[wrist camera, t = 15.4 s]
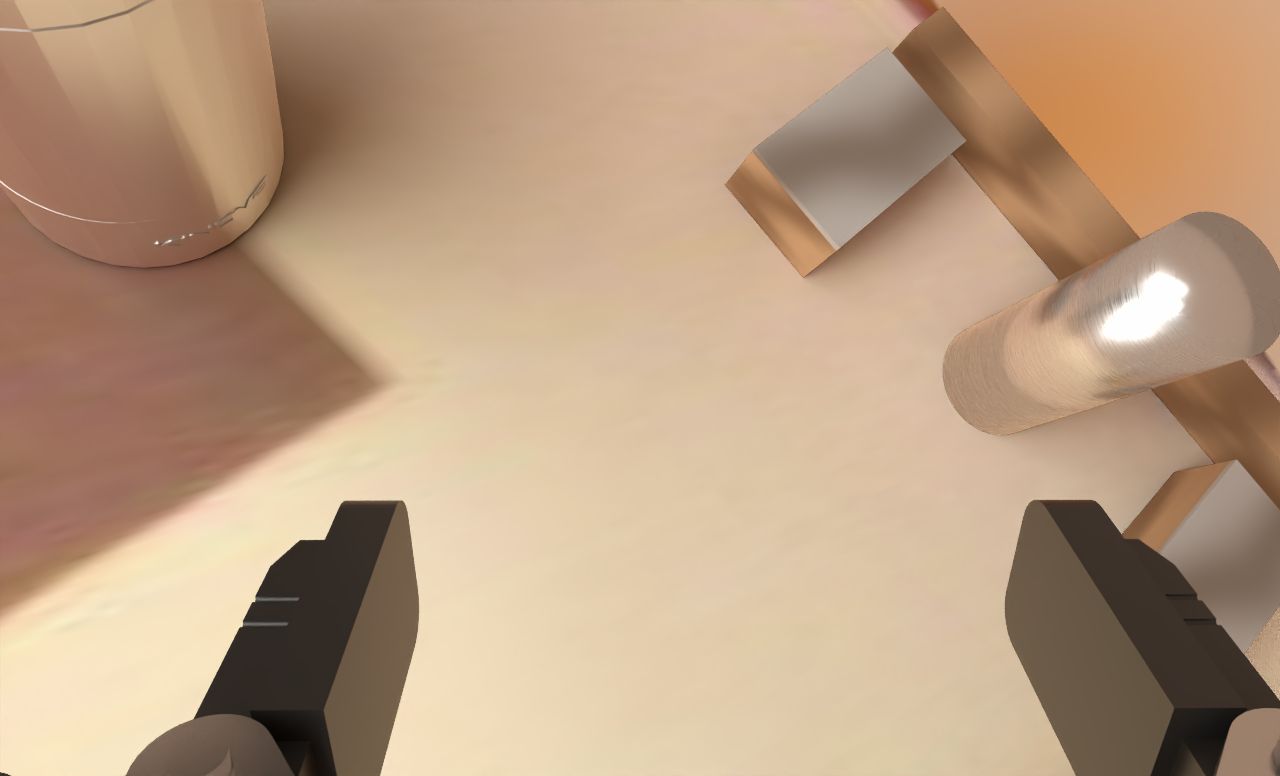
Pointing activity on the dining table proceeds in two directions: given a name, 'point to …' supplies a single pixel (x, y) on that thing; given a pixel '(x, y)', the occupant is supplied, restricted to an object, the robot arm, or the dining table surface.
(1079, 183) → the rail with metal-top blocks
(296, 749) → the robot arm
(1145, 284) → the link pin
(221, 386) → the dining table surface
